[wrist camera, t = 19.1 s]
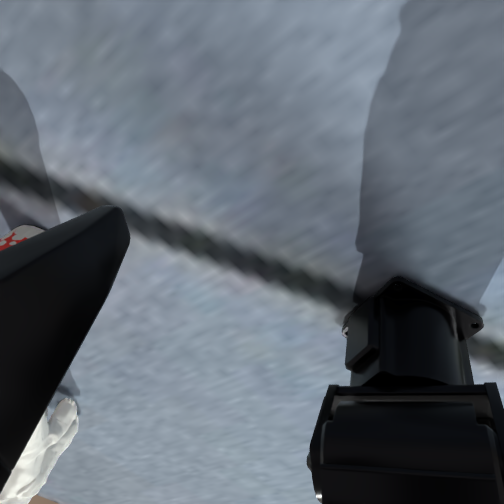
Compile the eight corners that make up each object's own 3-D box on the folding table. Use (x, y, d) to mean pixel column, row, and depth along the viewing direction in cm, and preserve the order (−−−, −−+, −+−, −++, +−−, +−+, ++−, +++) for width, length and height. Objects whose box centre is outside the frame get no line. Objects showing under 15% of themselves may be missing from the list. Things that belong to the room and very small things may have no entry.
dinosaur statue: (29, 423, 55) (-33, 514, 47) (34, 326, 39) (-58, 438, 31) (77, 443, 56) (24, 537, 48) (101, 356, 40) (27, 474, 32)
